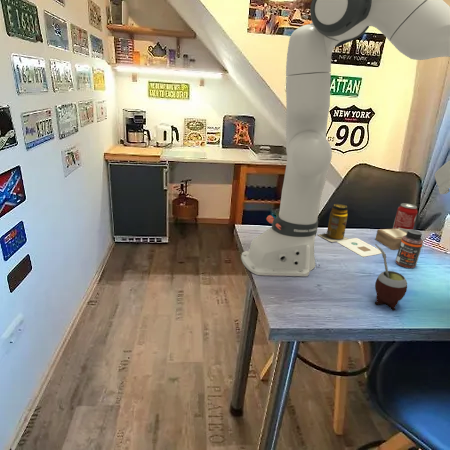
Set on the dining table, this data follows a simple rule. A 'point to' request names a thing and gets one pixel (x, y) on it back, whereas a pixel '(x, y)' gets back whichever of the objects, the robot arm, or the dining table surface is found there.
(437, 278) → the dining table surface
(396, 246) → the pedestal
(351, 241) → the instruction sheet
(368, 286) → the dining table surface
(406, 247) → the supplement bottle
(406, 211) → the soda can
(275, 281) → the dining table surface
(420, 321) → the dining table surface
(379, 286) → the mate gourd
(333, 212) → the condiment
